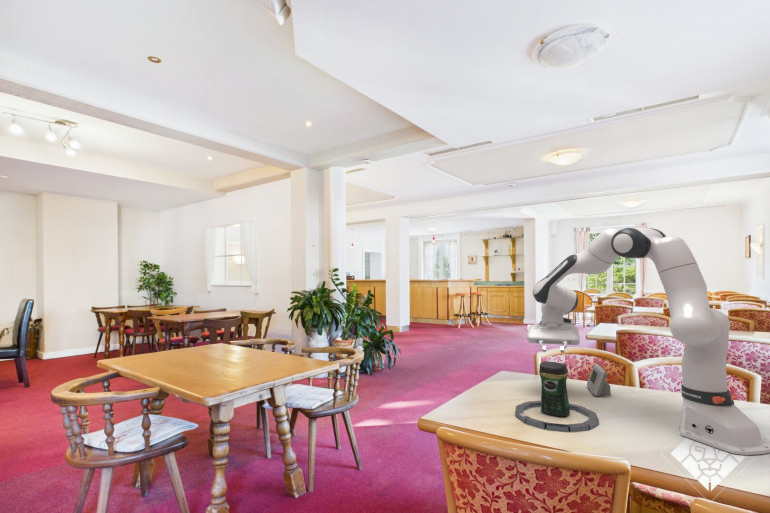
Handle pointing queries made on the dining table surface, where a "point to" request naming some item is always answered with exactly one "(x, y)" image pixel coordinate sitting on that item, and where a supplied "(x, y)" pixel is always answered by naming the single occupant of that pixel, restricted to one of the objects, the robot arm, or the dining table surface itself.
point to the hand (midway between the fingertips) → (553, 351)
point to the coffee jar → (554, 388)
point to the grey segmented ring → (583, 426)
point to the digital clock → (598, 381)
